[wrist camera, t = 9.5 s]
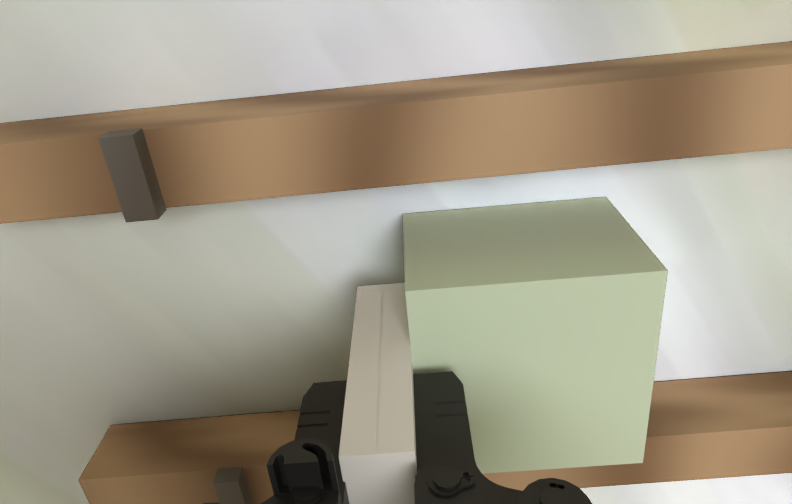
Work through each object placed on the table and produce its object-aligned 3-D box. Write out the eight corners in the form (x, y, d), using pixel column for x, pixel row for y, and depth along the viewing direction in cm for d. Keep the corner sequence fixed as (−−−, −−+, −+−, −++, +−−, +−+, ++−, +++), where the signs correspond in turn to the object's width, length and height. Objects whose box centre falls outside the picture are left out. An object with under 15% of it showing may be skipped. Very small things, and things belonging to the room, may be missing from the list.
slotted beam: (128, 466, 23) (90, 538, 20) (-15, 122, 17) (-96, 157, 14) (1137, 389, 21) (1249, 457, 18) (1374, -21, 15) (1593, -13, 12)
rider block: (417, 374, 21) (423, 477, 17) (402, 213, 18) (405, 291, 14) (594, 361, 20) (643, 462, 16) (606, 196, 18) (668, 270, 14)
